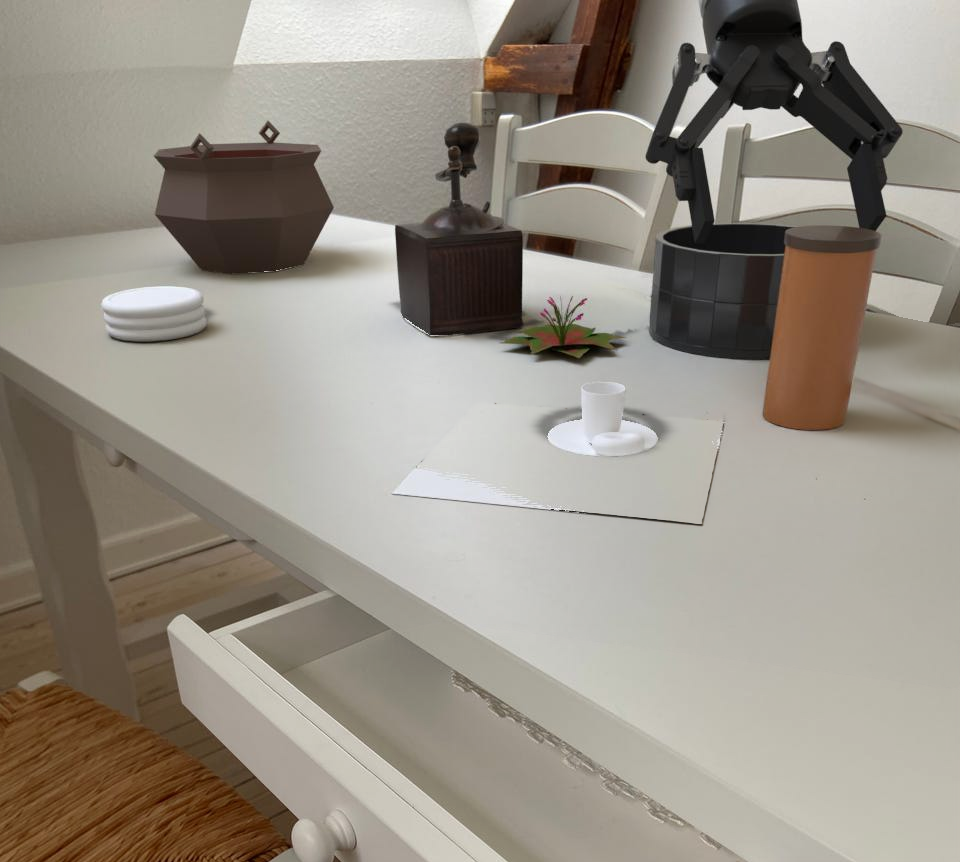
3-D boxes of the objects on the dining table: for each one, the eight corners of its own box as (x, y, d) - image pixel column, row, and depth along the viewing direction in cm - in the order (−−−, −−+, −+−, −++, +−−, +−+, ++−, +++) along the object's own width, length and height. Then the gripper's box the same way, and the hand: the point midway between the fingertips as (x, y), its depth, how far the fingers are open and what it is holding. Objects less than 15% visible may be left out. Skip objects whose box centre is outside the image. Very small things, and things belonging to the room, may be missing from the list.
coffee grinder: (531, 327, 102) (534, 130, 93) (428, 338, 99) (421, 135, 90) (476, 296, 115) (474, 120, 105) (383, 305, 111) (373, 124, 102)
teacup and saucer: (648, 471, 68) (652, 413, 66) (533, 461, 70) (534, 404, 68) (663, 429, 75) (668, 376, 73) (559, 421, 77) (561, 368, 75)
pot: (873, 346, 95) (892, 245, 90) (713, 368, 89) (725, 262, 84) (761, 307, 109) (772, 218, 104) (616, 323, 103) (622, 230, 99)
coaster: (116, 348, 97) (109, 311, 95) (99, 326, 105) (92, 291, 103) (218, 335, 101) (213, 299, 99) (194, 314, 109) (189, 281, 107)
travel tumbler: (865, 424, 76) (902, 236, 69) (794, 435, 74) (825, 243, 67) (811, 399, 81) (839, 222, 74) (743, 410, 79) (766, 229, 72)
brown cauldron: (207, 245, 146) (189, 119, 137) (365, 249, 141) (356, 119, 133) (125, 279, 126) (98, 133, 117) (307, 285, 121) (292, 134, 113)
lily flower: (543, 325, 103) (544, 279, 100) (648, 342, 97) (651, 293, 94) (475, 352, 95) (474, 302, 92) (584, 372, 89) (587, 319, 86)
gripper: (871, 41, 87) (918, 254, 82) (590, 44, 85) (621, 264, 80) (914, -36, 80) (969, 192, 75) (608, -35, 78) (643, 202, 73)
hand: (790, 230), depth 77 cm, fingers open, 13 cm apart
